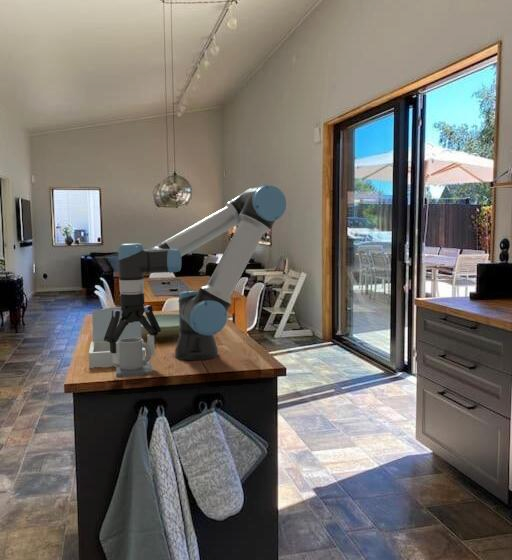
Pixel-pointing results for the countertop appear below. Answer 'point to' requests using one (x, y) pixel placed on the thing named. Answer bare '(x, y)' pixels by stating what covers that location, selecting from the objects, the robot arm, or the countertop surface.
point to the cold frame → (101, 348)
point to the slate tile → (144, 370)
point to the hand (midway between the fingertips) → (134, 358)
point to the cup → (133, 353)
